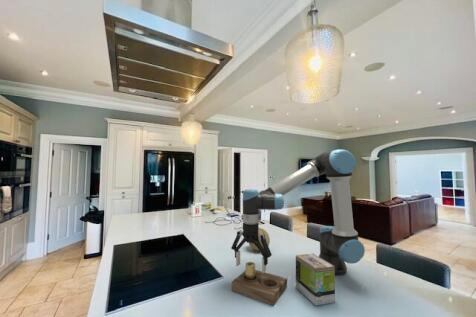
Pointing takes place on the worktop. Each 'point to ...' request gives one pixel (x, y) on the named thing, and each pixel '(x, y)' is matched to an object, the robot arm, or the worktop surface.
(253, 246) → the cantaloupe
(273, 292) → the jig
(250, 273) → the bushing
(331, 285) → the tea box
